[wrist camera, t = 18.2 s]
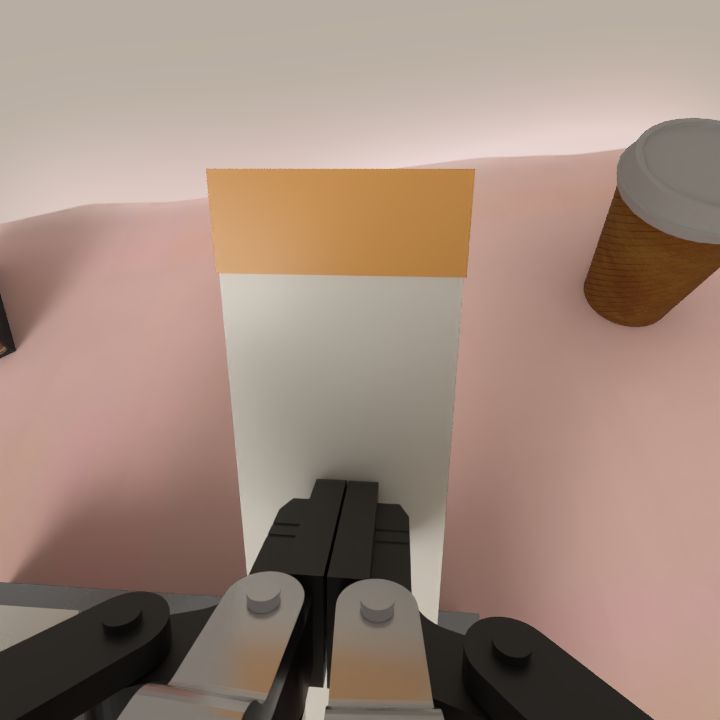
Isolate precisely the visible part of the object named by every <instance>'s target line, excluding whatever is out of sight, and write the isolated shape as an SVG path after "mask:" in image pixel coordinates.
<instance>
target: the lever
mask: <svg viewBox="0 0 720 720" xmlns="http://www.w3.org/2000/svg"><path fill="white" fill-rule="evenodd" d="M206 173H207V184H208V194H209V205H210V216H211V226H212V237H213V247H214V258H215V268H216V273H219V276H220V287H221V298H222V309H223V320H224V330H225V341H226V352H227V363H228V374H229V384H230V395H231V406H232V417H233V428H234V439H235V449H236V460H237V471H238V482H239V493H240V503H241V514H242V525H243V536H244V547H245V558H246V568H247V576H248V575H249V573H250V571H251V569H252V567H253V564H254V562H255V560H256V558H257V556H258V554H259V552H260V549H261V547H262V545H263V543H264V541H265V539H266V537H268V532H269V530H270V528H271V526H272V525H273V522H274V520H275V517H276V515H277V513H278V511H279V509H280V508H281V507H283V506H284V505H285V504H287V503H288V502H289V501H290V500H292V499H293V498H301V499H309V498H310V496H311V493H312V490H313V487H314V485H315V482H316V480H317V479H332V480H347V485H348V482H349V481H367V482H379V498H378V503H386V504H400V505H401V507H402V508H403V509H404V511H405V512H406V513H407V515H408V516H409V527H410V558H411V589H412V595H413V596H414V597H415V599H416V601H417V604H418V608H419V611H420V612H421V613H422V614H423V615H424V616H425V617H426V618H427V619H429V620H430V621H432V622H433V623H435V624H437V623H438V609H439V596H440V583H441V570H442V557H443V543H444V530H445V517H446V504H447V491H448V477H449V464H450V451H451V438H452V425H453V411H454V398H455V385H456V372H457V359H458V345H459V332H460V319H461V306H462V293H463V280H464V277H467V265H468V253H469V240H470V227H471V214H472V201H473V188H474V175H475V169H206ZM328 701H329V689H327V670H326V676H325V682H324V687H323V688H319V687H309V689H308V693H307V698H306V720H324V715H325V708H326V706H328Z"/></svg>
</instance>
